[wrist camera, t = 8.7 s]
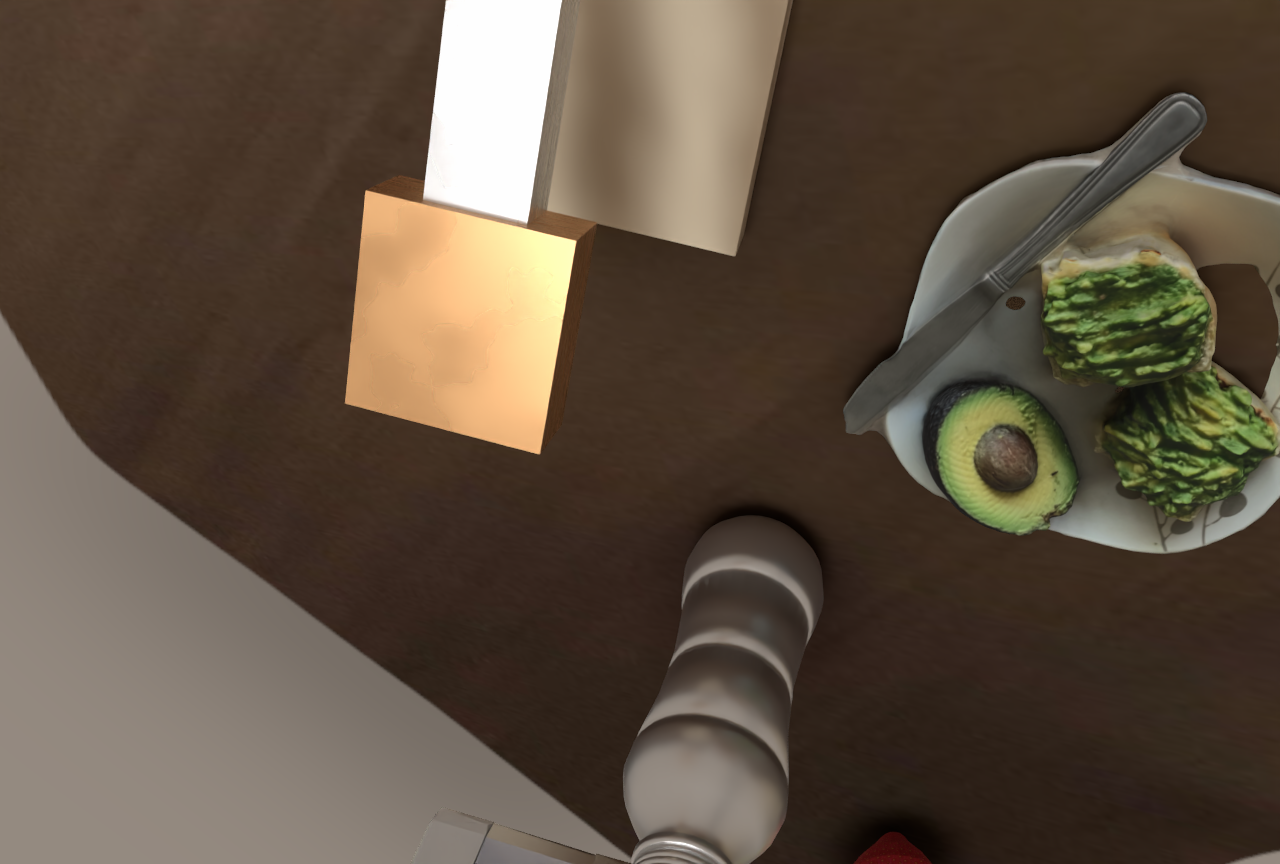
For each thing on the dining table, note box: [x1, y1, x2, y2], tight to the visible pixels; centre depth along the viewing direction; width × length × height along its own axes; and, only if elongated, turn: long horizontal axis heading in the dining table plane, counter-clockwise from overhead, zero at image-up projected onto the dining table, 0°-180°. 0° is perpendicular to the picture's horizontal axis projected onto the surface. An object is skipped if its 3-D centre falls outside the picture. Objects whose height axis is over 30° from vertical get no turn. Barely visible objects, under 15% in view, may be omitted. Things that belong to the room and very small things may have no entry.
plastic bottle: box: [623, 515, 824, 864], centre depth 51 cm, size 6×7×20 cm
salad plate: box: [843, 92, 1280, 554], centre depth 47 cm, size 19×18×5 cm
